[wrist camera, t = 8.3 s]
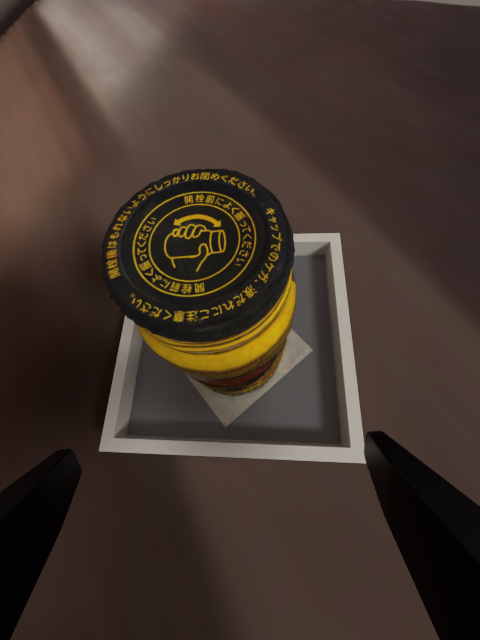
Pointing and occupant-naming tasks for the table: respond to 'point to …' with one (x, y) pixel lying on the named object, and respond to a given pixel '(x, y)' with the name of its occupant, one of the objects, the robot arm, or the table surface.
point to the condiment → (209, 282)
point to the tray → (273, 406)
